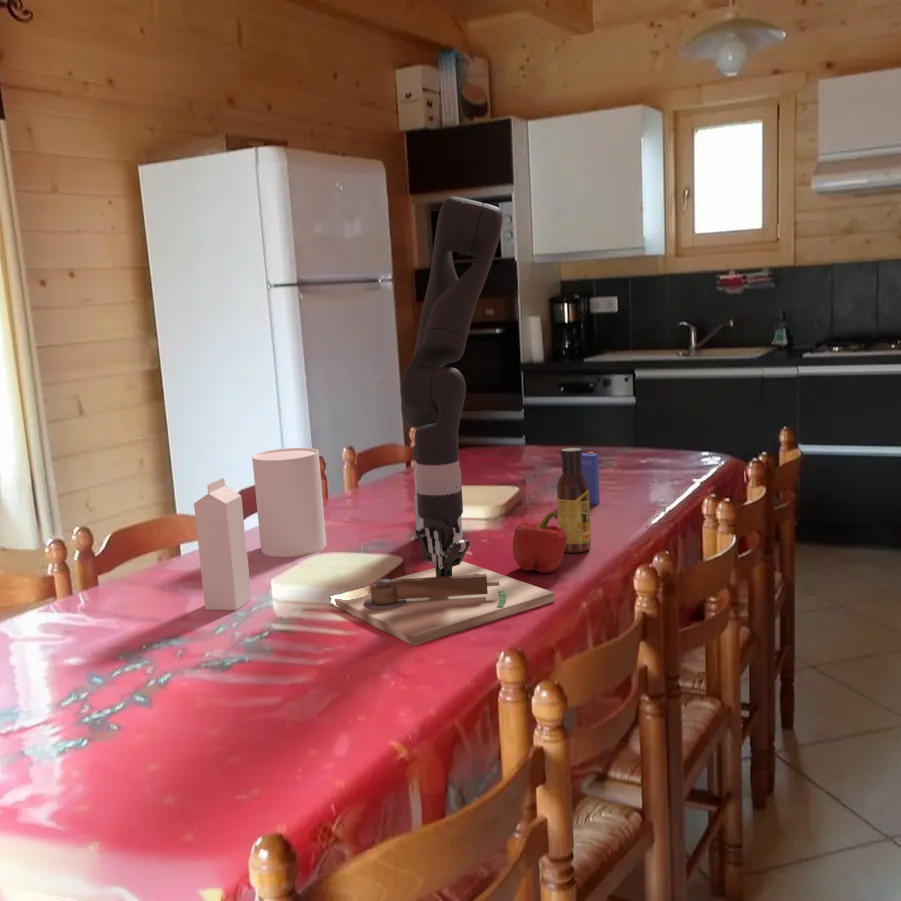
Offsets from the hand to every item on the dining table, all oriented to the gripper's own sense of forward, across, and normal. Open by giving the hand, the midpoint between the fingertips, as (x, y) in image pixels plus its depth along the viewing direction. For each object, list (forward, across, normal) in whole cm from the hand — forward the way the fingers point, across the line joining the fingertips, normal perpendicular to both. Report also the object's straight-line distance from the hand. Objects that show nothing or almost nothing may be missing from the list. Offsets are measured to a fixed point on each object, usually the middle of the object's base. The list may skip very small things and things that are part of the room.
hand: (444, 588), depth 164 cm
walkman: (+3, +34, -63) cm, 72 cm away
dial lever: (0, -2, +3) cm, 3 cm away
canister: (+3, +51, +3) cm, 51 cm away
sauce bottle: (+3, +7, -36) cm, 37 cm away
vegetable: (+3, +2, -23) cm, 23 cm away
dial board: (+2, 0, +1) cm, 3 cm away
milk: (+3, +26, +28) cm, 38 cm away
